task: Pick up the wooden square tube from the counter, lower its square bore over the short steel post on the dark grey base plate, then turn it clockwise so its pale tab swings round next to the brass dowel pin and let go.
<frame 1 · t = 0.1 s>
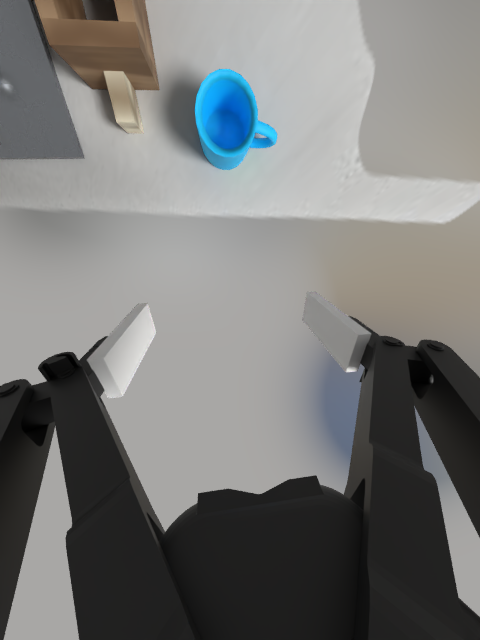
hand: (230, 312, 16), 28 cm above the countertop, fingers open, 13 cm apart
mug: (235, 142, 32), on the countertop
wooden square tube: (135, 129, 30), on the countertop
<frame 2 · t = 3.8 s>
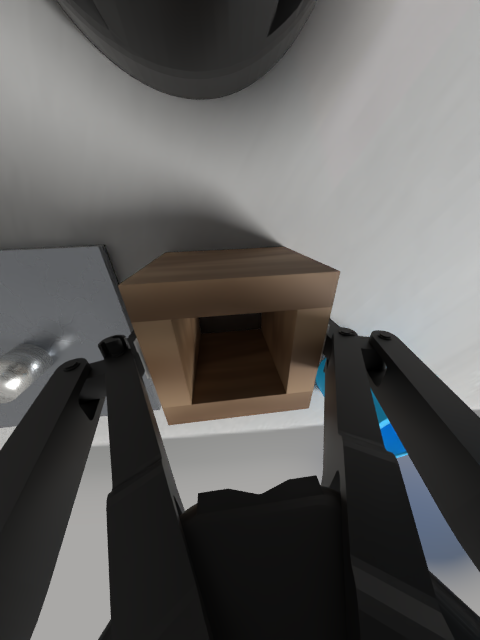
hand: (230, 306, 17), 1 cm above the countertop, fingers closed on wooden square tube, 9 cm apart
mug: (359, 368, 24), on the countertop
wooden square tube: (234, 374, 22), on the countertop, touching gripper
flange base: (40, 352, 17), on the countertop
when the fingers open (2 cm above the countertop, at t = 9.0 s): wooden square tube stays where it is, resting on flange base.
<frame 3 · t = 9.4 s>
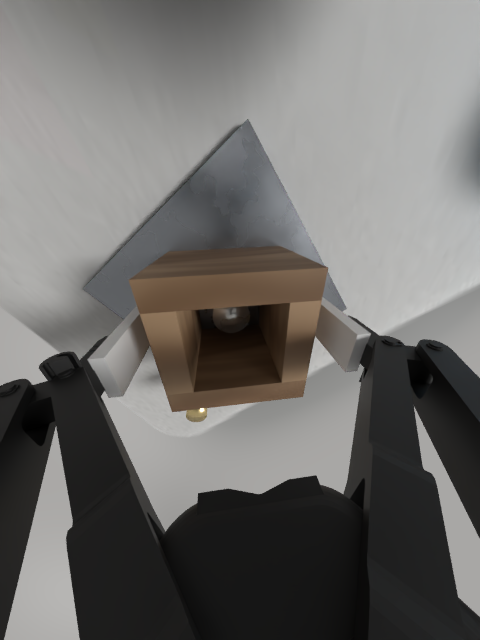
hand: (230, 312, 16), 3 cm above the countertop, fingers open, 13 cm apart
dowel pin: (201, 363, 23), resting on flange base
wooden square tube: (233, 369, 22), point 1 cm above the countertop, touching flange base
flange base: (228, 296, 19), on the countertop
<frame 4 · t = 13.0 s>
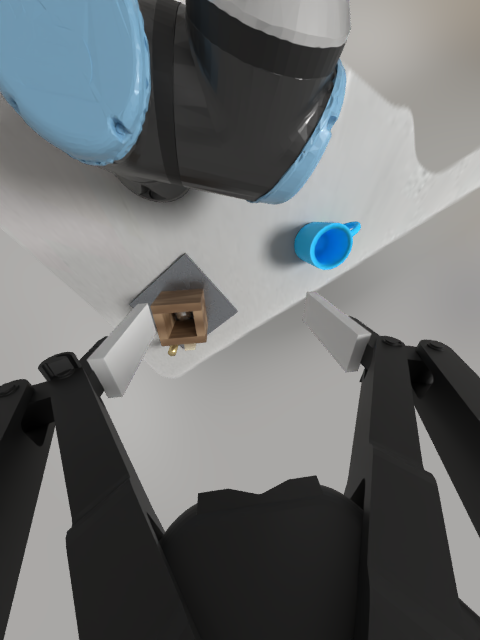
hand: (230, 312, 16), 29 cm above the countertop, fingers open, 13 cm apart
dowel pin: (177, 336, 50), resting on flange base
mug: (319, 237, 42), on the countertop
wooden square tube: (191, 339, 50), point 1 cm above the countertop, touching flange base
flange base: (186, 307, 46), on the countertop
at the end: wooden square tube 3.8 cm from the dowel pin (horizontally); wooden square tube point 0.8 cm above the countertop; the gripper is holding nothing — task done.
